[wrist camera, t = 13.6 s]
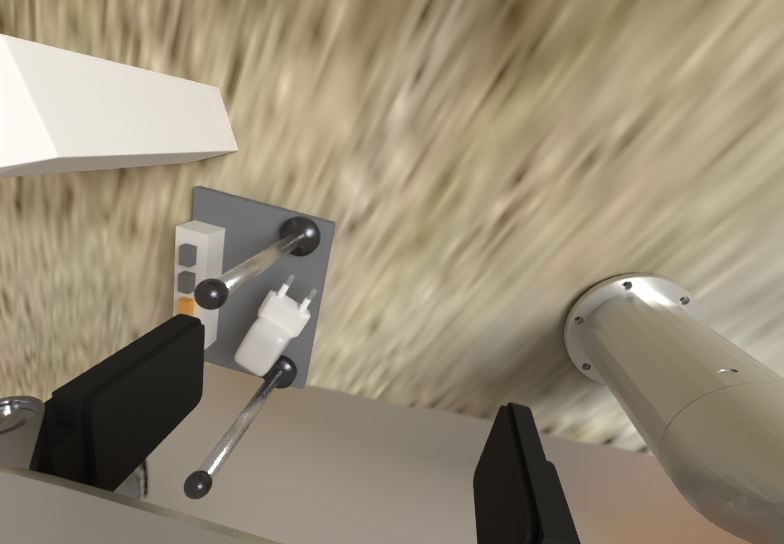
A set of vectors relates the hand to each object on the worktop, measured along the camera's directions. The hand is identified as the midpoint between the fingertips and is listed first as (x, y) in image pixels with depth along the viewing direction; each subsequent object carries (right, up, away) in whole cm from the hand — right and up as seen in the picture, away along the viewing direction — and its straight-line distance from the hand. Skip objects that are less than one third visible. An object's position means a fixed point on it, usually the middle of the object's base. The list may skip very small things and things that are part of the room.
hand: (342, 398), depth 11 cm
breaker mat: (-14, +1, +31) cm, 34 cm away
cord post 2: (-12, -8, +33) cm, 36 cm away
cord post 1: (-8, +8, +27) cm, 29 cm away
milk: (-17, +18, +26) cm, 36 cm away
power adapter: (-10, 0, +30) cm, 32 cm away
